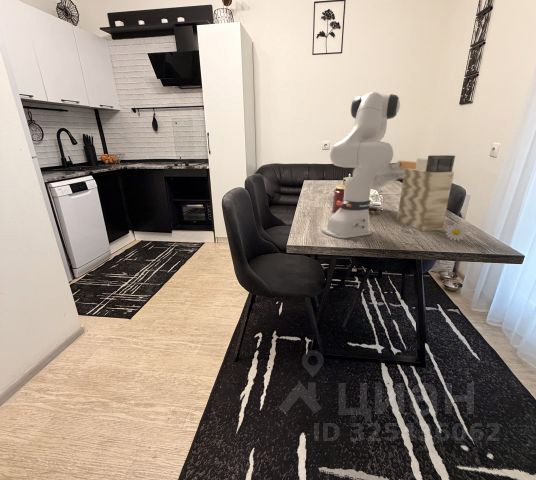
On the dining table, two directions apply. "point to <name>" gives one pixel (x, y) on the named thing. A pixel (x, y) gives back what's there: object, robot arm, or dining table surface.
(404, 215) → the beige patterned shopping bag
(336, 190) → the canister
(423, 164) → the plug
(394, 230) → the dining table surface
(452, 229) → the decorative flower
